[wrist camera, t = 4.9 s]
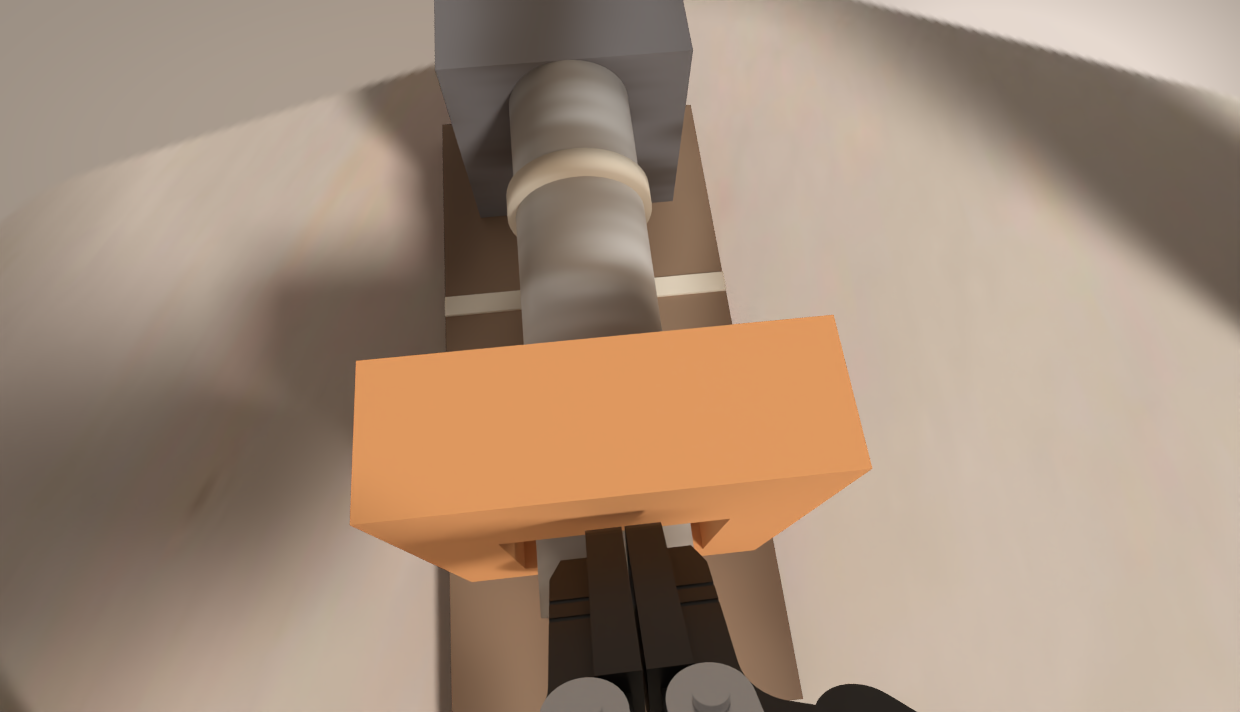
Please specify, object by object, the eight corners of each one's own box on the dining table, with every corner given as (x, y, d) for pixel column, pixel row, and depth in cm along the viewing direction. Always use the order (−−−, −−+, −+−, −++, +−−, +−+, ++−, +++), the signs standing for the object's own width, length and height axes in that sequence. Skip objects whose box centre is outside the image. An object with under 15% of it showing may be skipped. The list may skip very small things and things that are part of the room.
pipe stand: (688, 120, 32) (715, -71, 24) (795, 696, 23) (903, 725, 14) (447, 139, 32) (386, -48, 23) (458, 738, 22) (363, 794, 14)
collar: (738, 458, 24) (833, 314, 13) (754, 549, 22) (871, 468, 12) (468, 487, 23) (355, 360, 13) (471, 582, 22) (349, 524, 12)
